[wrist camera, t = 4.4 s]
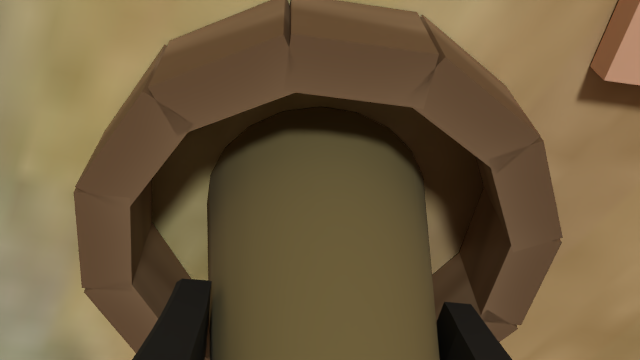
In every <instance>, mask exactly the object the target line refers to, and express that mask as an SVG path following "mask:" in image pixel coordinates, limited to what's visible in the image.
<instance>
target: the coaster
mask: <svg viewBox="0 0 640 360" xmlns="http://www.w3.org/2000/svg"><path fill="white" fill-rule="evenodd" d="M590 67H591V68H592V69H593V70H594V71H595V72H596V73H597V74H598V75H599V76H600V77H601V78H602V79H603V80H605V81H612V82H619V83H626V84H634V85H640V0H619V1H618V4H617V6H616V8H615V11H614V13H613V15H612V17H611V20H610V22H609V24H608V27H607V29H606V31H605V33H604V36H603V38H602V40H601V43H600V45H599V47H598V50H597V52H596V54H595V56H594V59H593V61H592V63H591V66H590Z"/></svg>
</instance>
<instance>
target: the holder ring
mask: <svg viewBox="0 0 640 360" xmlns="http://www.w3.org/2000/svg"><path fill="white" fill-rule="evenodd" d="M293 93H303V94H311V95H319V96H327V97H334V98H342V99H350V100H358V101H366V102H374V103H382V104H389V105H397V106H405V107H412V108H414V109H415V110H416V111H417V112H419V113H420V114H421V115H423V116H424V117H425V118H427V119H428V120H429V121H431V122H432V123H433V124H434V125H436V126H437V127H438V128H440V129H441V130H442V131H444V132H445V133H446V134H447V135H449V136H450V137H451V138H453V139H454V140H455V141H457V142H458V143H459V144H460V145H462V146H463V147H464V148H466V149H467V150H468V151H470V152H471V153H472V154H474V155H475V156H476V160H477V163H478V167H479V171H480V174H481V178H482V181H483V185H484V188H483V191H482V193H481V196H480V199H479V201H478V204H477V207H476V209H475V212H474V215H473V217H472V220H471V223H470V225H469V228H468V231H467V233H466V236H465V239H464V241H463V244H462V247H461V249H460V252H459V253H458V254H457V255H456V256H455V257H453V258H452V259H451V260H450V261H449V262H447V263H446V264H445V265H444V266H443V267H441V268H440V269H439V270H438V271H437V272H435V273H434V274H433V275H432V281H433V292H434V303H435V314H436V322H437V319H438V317H439V314H440V312H441V309H442V306H443V304H444V302H454V303H465V304H471V305H472V306H473V307H474V309H475V310H476V311H477V313H478V314H479V316H480V317H481V318H482V320H483V321H484V322H485V324H486V325H487V326H488V328H489V329H490V331H491V332H492V333H493V335H494V336H495V337H496V339H497V340H498V341H499V342H500V341H501V340H503V339H504V338H506V337H507V336H508V335H510V334H511V333H512V332H514V331H515V330H517V329H518V328H517V325H521V324H522V322H523V320H524V318H525V316H526V314H527V312H528V310H529V308H530V306H531V304H532V302H533V300H534V298H535V296H536V294H537V292H538V290H539V288H540V286H541V284H542V281H543V279H544V277H545V275H546V273H547V271H548V269H549V267H550V265H551V263H552V261H553V259H554V257H555V255H556V253H557V251H558V249H559V247H560V245H561V243H562V242H561V240H560V238H563V237H562V232H561V227H560V222H559V217H558V212H557V207H556V202H555V197H554V192H553V187H552V182H551V177H550V172H549V167H548V162H547V157H546V152H545V147H544V142H543V140H542V138H541V137H540V135H539V133H538V132H537V130H536V129H535V128H534V126H533V125H532V123H531V122H530V120H529V119H528V117H527V116H526V114H525V113H524V112H523V110H522V109H521V107H520V106H519V104H518V103H517V101H516V100H515V99H514V97H513V96H512V94H511V93H510V91H509V90H508V88H507V87H506V86H505V85H504V84H503V83H502V82H501V81H499V80H498V79H497V78H496V77H495V76H494V75H492V74H491V73H490V72H489V71H488V70H487V69H485V68H484V67H483V66H482V65H481V64H480V63H478V62H477V61H476V60H475V59H474V58H473V57H471V56H470V55H469V54H468V53H467V52H466V51H464V50H463V49H462V48H461V47H460V46H459V45H457V44H456V43H455V42H454V41H453V40H452V39H450V38H449V37H448V36H447V35H446V34H445V33H443V32H442V31H441V30H440V29H439V28H438V27H436V26H435V25H434V24H433V23H432V22H430V21H429V20H428V19H427V18H426V17H425V16H423V15H422V16H421V17H419V15H418V13H417V12H411V11H405V10H398V9H391V8H384V7H377V6H371V5H364V4H357V3H350V2H343V1H337V0H291V2H290V6H289V3H288V1H287V0H270V1H268V2H265V3H263V4H260V5H258V6H255V7H253V8H250V9H248V10H245V11H243V12H240V13H238V14H235V15H233V16H230V17H228V18H225V19H223V20H220V21H218V22H215V23H213V24H210V25H208V26H205V27H203V28H200V29H198V30H195V31H193V32H190V33H188V34H185V35H183V36H180V37H178V38H175V39H173V40H170V41H169V43H168V45H167V46H166V45H164V47H163V48H162V49H161V51H160V52H159V54H158V55H157V57H156V58H155V59H154V61H153V62H152V64H151V65H150V67H149V68H148V70H147V71H146V72H145V74H144V75H143V77H142V78H141V80H140V81H139V83H138V84H137V85H136V87H135V88H134V90H133V91H132V93H131V94H130V96H129V97H128V98H127V100H126V101H125V103H124V104H123V106H122V107H121V109H120V110H119V111H118V113H117V114H116V116H115V117H114V119H113V120H112V122H111V123H110V124H109V126H108V127H107V129H106V130H105V132H104V134H103V136H102V138H101V139H100V141H99V143H98V145H97V147H96V149H95V151H94V153H93V154H92V156H91V158H90V160H89V162H88V164H87V166H86V168H85V169H84V171H83V173H82V175H81V177H80V179H79V181H78V183H77V184H76V186H75V187H76V189H75V191H74V200H75V212H76V224H77V235H78V247H79V259H80V270H81V282H82V288H85V291H84V293H85V294H86V295H87V296H88V297H89V299H90V300H91V301H92V302H93V303H94V304H95V306H96V307H97V308H98V309H99V310H100V311H101V313H102V314H103V315H104V316H105V317H106V319H107V320H108V321H109V322H110V323H111V324H112V326H113V327H114V328H115V329H116V330H117V331H118V333H119V334H120V335H121V336H122V337H123V338H124V340H125V341H126V342H127V343H128V344H129V345H130V347H131V348H132V349H133V350H134V351H135V353H137V352H138V350H139V349H140V347H141V346H142V344H143V342H144V341H145V339H146V338H147V336H148V335H149V333H150V332H151V330H152V329H153V327H154V325H155V323H156V322H157V320H158V318H159V317H160V315H161V313H162V311H163V310H164V308H165V306H166V304H167V302H168V300H169V298H170V296H171V294H172V292H173V289H174V287H175V285H176V282H177V281H179V280H181V279H182V278H183V279H191V278H190V276H189V275H188V273H187V272H186V271H185V269H184V268H183V266H182V265H181V263H180V262H179V261H178V259H177V258H176V256H175V255H174V253H173V252H172V251H171V249H170V248H169V246H168V245H167V243H166V242H165V240H164V239H163V238H162V236H161V235H160V233H159V232H158V230H157V229H156V228H155V226H154V225H153V223H152V178H153V176H154V175H155V174H156V173H157V171H158V170H159V169H160V167H161V166H162V165H163V164H164V162H165V161H166V160H167V158H168V157H169V156H170V155H171V153H172V152H173V151H174V149H175V148H176V147H177V146H178V144H179V143H180V142H181V140H182V139H183V138H184V137H185V135H186V134H187V133H188V132H190V131H193V130H195V129H198V128H201V127H203V126H206V125H209V124H212V123H214V122H217V121H220V120H222V119H225V118H228V117H231V116H233V115H236V114H239V113H241V112H244V111H247V110H250V109H252V108H255V107H258V106H260V105H263V104H266V103H268V102H271V101H274V100H277V99H279V98H282V97H285V96H287V95H290V94H293ZM205 360H210V335H209V321H208V334H207V347H206V354H205Z"/></svg>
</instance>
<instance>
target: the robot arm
mask: <svg viewBox="0 0 640 360" xmlns="http://www.w3.org/2000/svg"><path fill="white" fill-rule="evenodd" d="M211 283H212V281H205V280H194V279H183V278H182V279H181V280H179V281H177V282H176V285H175V287H174V289H173V292H172V294H171V296H170V298H169V300H168V302H167V304H166V306H165V308H164V310H163V311H162V313H161V315H160V317H159V318H158V320H157V322H156V323H155V325H154V327H153V329H152V330H151V332H150V333H149V335H148V336H147V338H146V339H145V341H144V342H143V344H142V346H141V347H140V349H139V350H138V352H137V353H136V355H135V356H134V358H133V359H132V360H205V354H206V347H207V334H208V321H209V308H210V295H211ZM436 325H437V336H438V347H439V358H440V360H512V359H511V358H510V356H509V355H508V354H507V352H506V351H505V350H504V348H503V347H502V346H501V344H500V343H499V341H498V340H497V339H496V337H495V336H494V335H493V333H492V332H491V331H490V329H489V328H488V326H487V325H486V324H485V322H484V321H483V320H482V318H481V317H480V316H479V314H478V313H477V311H476V310H475V309H474V307H473V306H472V305H471V304H465V303H454V302H444V304H443V306H442V309H441V312H440V314H439V317H438V319H437V322H436Z"/></svg>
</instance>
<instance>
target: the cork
mask: <svg viewBox="0 0 640 360" xmlns="http://www.w3.org/2000/svg"><path fill="white" fill-rule="evenodd" d="M207 221H208V278H209V281H212V283H211V295H210V308H209V335H210V360H440V358H439V347H438V336H437V325H436V314H435V303H434V292H433V281H432V270H431V259H430V248H429V237H428V226H427V215H426V204H425V193H424V182H423V176H422V174H421V172H420V169H419V167H418V165H417V163H416V160H415V158H414V156H413V153H412V151H411V150H410V149H409V148H408V147H407V146H406V145H405V144H404V143H403V142H402V141H401V140H400V139H399V138H398V137H397V136H396V135H395V134H394V133H393V132H392V131H391V130H390V129H389V128H387V127H385V126H383V125H381V124H379V123H377V122H375V121H373V120H371V119H369V118H367V117H365V116H363V115H361V114H359V113H355V112H349V111H343V110H337V109H331V108H325V107H316V108H308V109H300V110H292V111H284V112H281V113H279V114H277V115H274V116H272V117H270V118H267V119H265V120H263V121H261V122H258V123H256V124H254V125H251V126H250V127H249V128H247V129H246V130H245V131H244V132H243V133H242V134H241V135H239V136H238V137H237V138H236V139H235V140H234V141H233V142H231V143H230V144H229V145H228V146H227V147H226V148H225V149H224V151H223V153H222V155H221V157H220V158H219V160H218V162H217V164H216V166H215V168H214V169H213V171H212V173H211V175H210V183H209V192H208V200H207Z"/></svg>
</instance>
